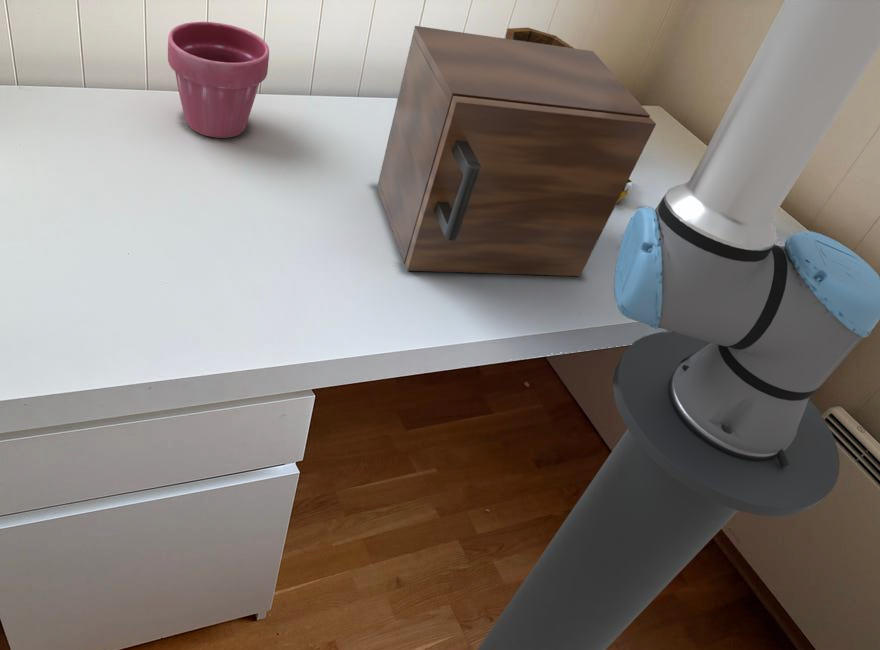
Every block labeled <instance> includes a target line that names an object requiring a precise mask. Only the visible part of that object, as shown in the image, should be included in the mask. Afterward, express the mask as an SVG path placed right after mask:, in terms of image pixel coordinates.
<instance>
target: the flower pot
mask: <svg viewBox="0 0 880 650" xmlns="http://www.w3.org/2000/svg"><path fill="white" fill-rule="evenodd" d="M269 60H270V47H269V45H268V44H267V42H266V41H265V40H264V39H263V38H261V37H260V36H259V35H257V34H255V33H253V32H252V31H249V30H247V29H244V28H242V27H238V26H236V25H232V24H228V23H221V22H216V21H191V22H185V23H182V24H178V25H176V26H174V27H173V28H172V29H170V31H169V33H168V37H167V63H168V65H169V66H170V68H171V70H173V71H174V73H175V78H176V79H175V80H176V84H177V89H178V94H179V99H180V104H181V108H182V112H183V117H184V121H185V123H186V126H188V127H189V128H190V129H191V130H193V131H194V132H196V133H198V134H201V135H203V136H207V137H210V138H217V139H219V138H220V139H228V138H233V137H237V136H239V135H241V134H242V133H244V131H245V130H246V127H247V124H248V122H249V118H250V115H251V112H252V109H253V106H254V102H255V99H256V96H257V93H258V91H259V90H258V89H259V86H260V84H261V83H262V82H263V81H265V79H266V78H267V76H268V71H269V70H268V69H269V63H270V62H269Z"/></svg>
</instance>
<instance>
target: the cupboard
mask: <svg viewBox="0 0 880 650" xmlns="http://www.w3.org/2000/svg"><path fill="white" fill-rule="evenodd" d="M574 48H575V47H573V48H567V47H560V46H553V45H546V44H539V43H532V42H525V41H518V40H511V39H505V38H504V37H498V36H497V37H496V36H489V35H483V34H476V33H469V32H462V31H454V30H448V29H442V28H441V29H440V28H433V27H428V26H419V25H414V28H413V32H412V37H411V41H410V45H409V50H408V54H407V58H406V62H405V66H404V69H403V75H402V80H401V82H400V87H399V92H398V96H397V99H396V105H395V109H394V113H393V117H392V121H391V125H390V130H389V133H388V139H387V143H386V147H385V152H384V156H383V160H382V164H381V169H380V173H379V176H378V177H379V178H378V181H377V186H376V189H377V192H378V195H379V198H380V201H381V203H382V206H383V209H384V211H385V214H386V217H387V220H388V223H389V225H390V228H391V231H392V234H393V236H394V239H395V243H396V244H397V248H398V250H399V253H400V255H401V258H402V262H403V263H404V264H405V262H406V258H407V255H408V251H409V248H410V244H411V241H412V237H413V234H414V230H415V227H416V223H417V220H418V217H419V213H420V210H421V206H422V203H423V199H424V196H425V192H426V189H427V185H428V182H429V178H430V175H431V171H432V168H433V165H434V161H435V158H436V154H437V151H438V147H439V144H440V140H441V137H442V133H443V130H444V126H445V123H446V119H447V116H448V112H449V109H450V106H451V102H452V99H453V96H460V97H469V98H478V99H486V100H495V101H504V102H513V103H522V104H531V105H540V106H549V107H557V108H566V109H575V110H584V111H593V112H602V113H611V114H620V115H628V116H637V117H646V118H651V114H649V112H648V111H647V110H646V109H645V108H644V107H643V105H641V103H640V102H639V101H638V100H637V99H636V98H635V96H633V94H632V93H631V92H630V91H629V90H628V89H627V88H626V87H625V85H624V84H623V83H622V82H621V81H620V80H619V79H618V77H617V76H616V75H615V74H614V73H613V72H612V70H611V69H610V68H609V67H608V66H607V65H606V64H605V63H604V62H603V60H602V59H601V58H599V56H598V55H597V54H596V53H595V52H594V51H593V50H589V49H581V48H575V49H574Z"/></svg>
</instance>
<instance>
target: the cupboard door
mask: <svg viewBox="0 0 880 650" xmlns="http://www.w3.org/2000/svg"><path fill="white" fill-rule="evenodd" d="M656 125H657V123H656V122H655V121H654V119H652V117H649V118H646V117H637V116H628V115H620V114H611V113H602V112H593V111H584V110H575V109H566V108H557V107H549V106H540V105H531V104H522V103H513V102H504V101H495V100H486V99H478V98H469V97H460V96H453V99H452V102H451V106H450V109H449V112H448V116H447V119H446V123H445V126H444V130H443V133H442V137H441V140H440V144H439V147H438V151H437V154H436V158H435V161H434V165H433V168H432V171H431V175H430V178H429V182H428V185H427V189H426V192H425V196H424V199H423V203H422V206H421V210H420V213H419V217H418V220H417V223H416V227H415V230H414V234H413V237H412V241H411V244H410V248H409V251H408V255H407V258H406V262H405V263H404V265H405V268H406V271H408V272H409V271H410V272H441V273H468V274H471V273H473V274H498V275H499V274H500V275H501V274H503V275H535V276H564V277H567V276H568V277H581V275H582V273H583V271H584V269H585V267H586V265H587V263H588V262H589V259H590V257H591V255H592V253H593V251H594V249H595V247H596V245H597V243H598V242H599V239H600V237H601V235H602V233H603V231H604V229H605V227H606V225H607V223H608V221H609V219H610V217H611V215H612V213H613V211H614V209H615V207H616V205H617V203H618V202H617V201H618V199H619V197H620V195H621V193H622V191H623V189H624V187H625V185H626V183H627V181H628V179H630V177H631V175H632V173H633V172H634V169H635V167H636V165H637V163H638V162H639V159H640V157H641V156H642V154H643V152H644V149H645V148H646V145H647V143H648V141H649V139H650V137H651V135H652V133H653V131H654V130H655V128H656Z"/></svg>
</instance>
